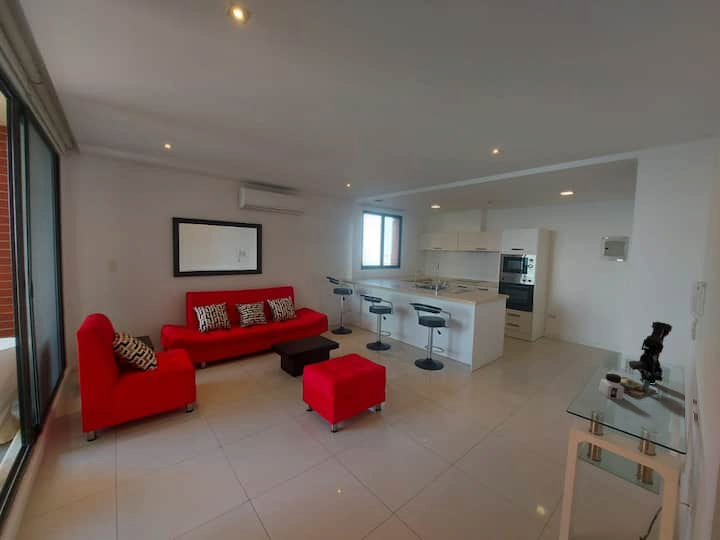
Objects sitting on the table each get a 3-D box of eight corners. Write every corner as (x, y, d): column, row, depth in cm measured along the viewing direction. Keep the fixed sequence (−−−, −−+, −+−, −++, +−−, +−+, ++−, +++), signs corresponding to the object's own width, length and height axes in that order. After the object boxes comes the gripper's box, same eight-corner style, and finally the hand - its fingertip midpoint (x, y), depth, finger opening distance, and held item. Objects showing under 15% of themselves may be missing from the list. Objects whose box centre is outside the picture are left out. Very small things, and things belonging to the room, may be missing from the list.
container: (622, 400, 165) (626, 379, 163) (606, 398, 166) (610, 377, 164) (613, 392, 172) (617, 372, 170) (598, 390, 174) (602, 370, 172)
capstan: (614, 384, 178) (616, 374, 177) (617, 378, 185) (619, 369, 184) (646, 395, 168) (648, 385, 166) (649, 388, 175) (651, 378, 173)
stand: (624, 378, 189) (625, 370, 188) (655, 392, 174) (657, 383, 173) (604, 383, 182) (605, 374, 181) (635, 398, 167) (637, 388, 166)
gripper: (624, 350, 183) (619, 373, 186) (641, 363, 166) (635, 388, 169) (646, 353, 179) (641, 376, 182) (666, 367, 162) (659, 393, 165)
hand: (643, 383), depth 174 cm, fingers closed
